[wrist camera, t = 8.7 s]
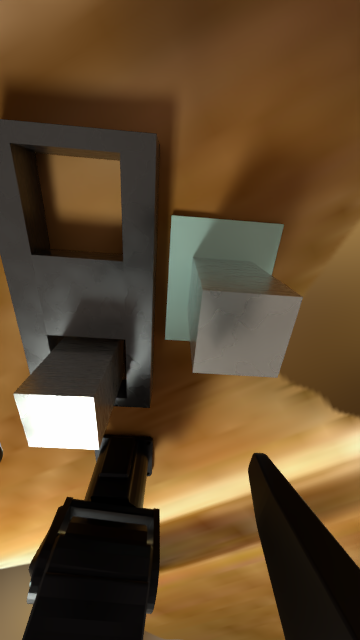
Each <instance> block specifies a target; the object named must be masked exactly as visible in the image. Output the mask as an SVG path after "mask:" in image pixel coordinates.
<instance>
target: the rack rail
mask: <svg viewBox="0 0 360 640" xmlns="http://www.w3.org/2000/svg"><path fill="white" fill-rule="evenodd" d="M35 153H40V154H51V155H63V156H74V157H85V158H96V159H108V160H119V161H120V170H121V203H122V237H123V254H109V253H96V252H82V251H69V250H55V249H50V244H49V238H48V232H47V225H46V219H45V213H44V206H43V200H42V194H41V188H40V181H39V175H38V169H37V162H36V156H35ZM159 157H160V144H159V141H158V137H157V134H153V133H142V132H132V131H121V130H110V129H100V128H89V127H78V126H68V125H57V124H46V123H36V122H25V121H14V120H4V119H0V255H1V259H2V263H3V267H4V271H5V275H6V279H7V283H8V287H9V291H10V295H11V299H12V303H13V307H14V311H15V315H16V319H17V323H18V327H19V331H20V335H21V339H22V343H23V347H24V351H25V355H26V359H27V363H28V367H29V371H30V375H31V373H32V372H33V371H34V370H35V369H36V368H37V367H38V366H39V365H40V363H41V362H42V361H43V360H44V359H45V358H46V357H47V356H48V355H49V353H50V352H51V351H52V350H53V349H54V348H55V347H56V346H57V345H58V343H59V342H60V341H61V340H62V339H63V338H64V336H74V337H91V338H107V339H124V340H126V372H127V379H122V382H121V385H120V388H119V391H118V394H117V397H116V400H115V403H114V406H123V407H143V408H150V402H151V396H152V389H153V356H154V322H155V289H156V256H157V223H158V190H159Z"/></svg>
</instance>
